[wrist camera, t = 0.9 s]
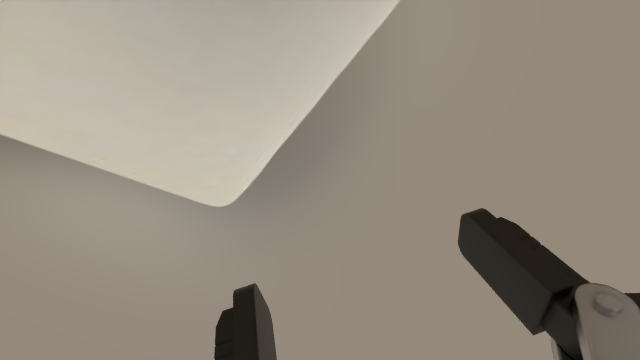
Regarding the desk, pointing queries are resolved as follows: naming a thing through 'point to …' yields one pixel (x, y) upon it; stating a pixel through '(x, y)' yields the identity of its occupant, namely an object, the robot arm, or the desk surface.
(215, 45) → the desk surface
